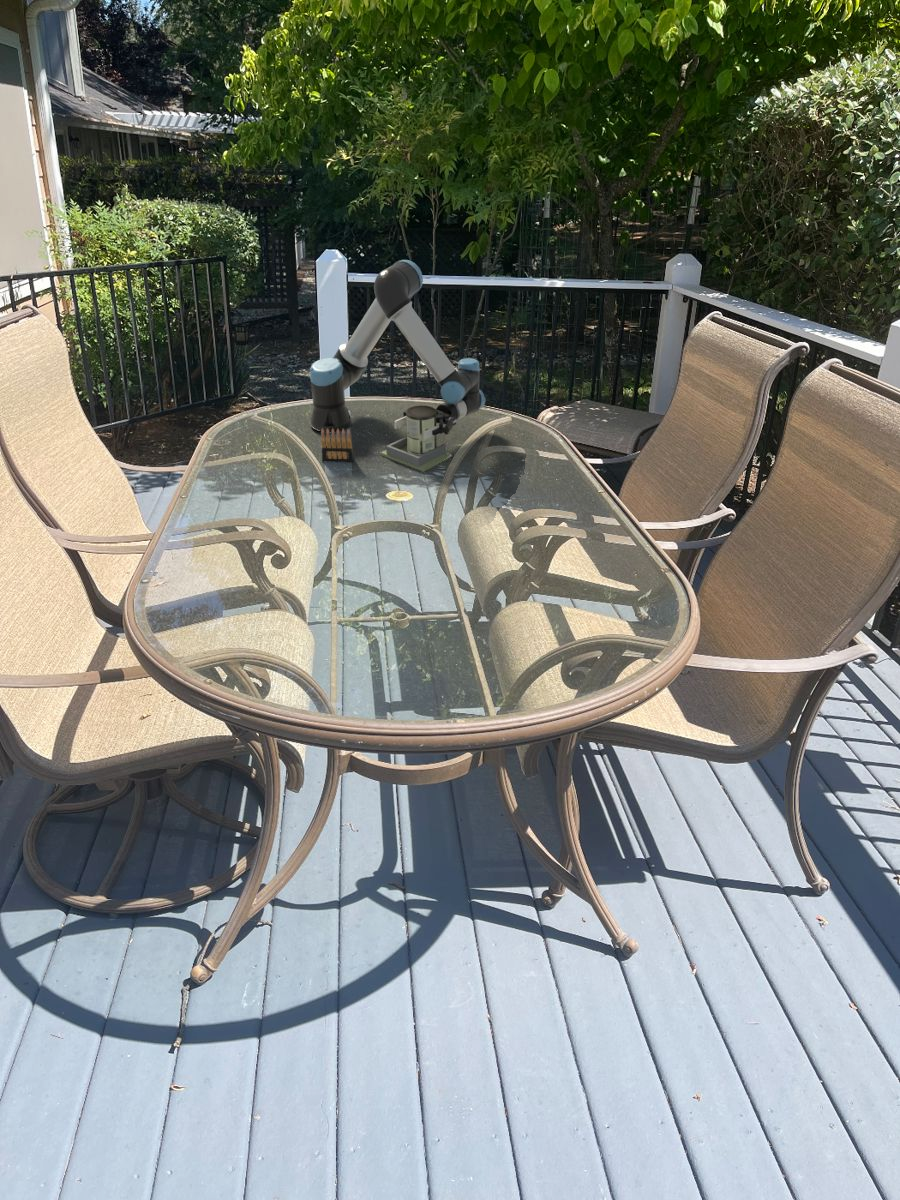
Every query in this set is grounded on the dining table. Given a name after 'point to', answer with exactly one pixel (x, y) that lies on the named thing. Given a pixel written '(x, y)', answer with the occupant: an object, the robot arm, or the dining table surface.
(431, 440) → the coffee can
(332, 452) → the ammunition clip
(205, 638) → the dining table surface
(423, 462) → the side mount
